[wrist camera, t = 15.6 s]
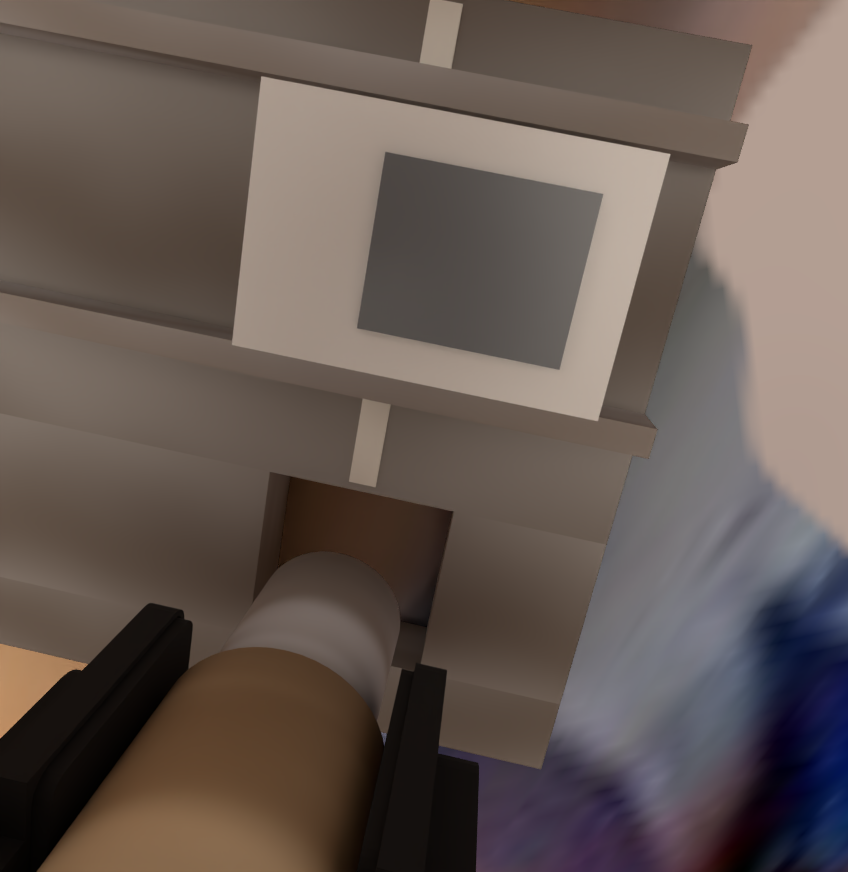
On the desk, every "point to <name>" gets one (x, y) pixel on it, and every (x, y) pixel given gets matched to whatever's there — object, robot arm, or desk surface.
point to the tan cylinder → (257, 740)
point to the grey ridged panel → (290, 377)
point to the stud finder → (441, 246)
